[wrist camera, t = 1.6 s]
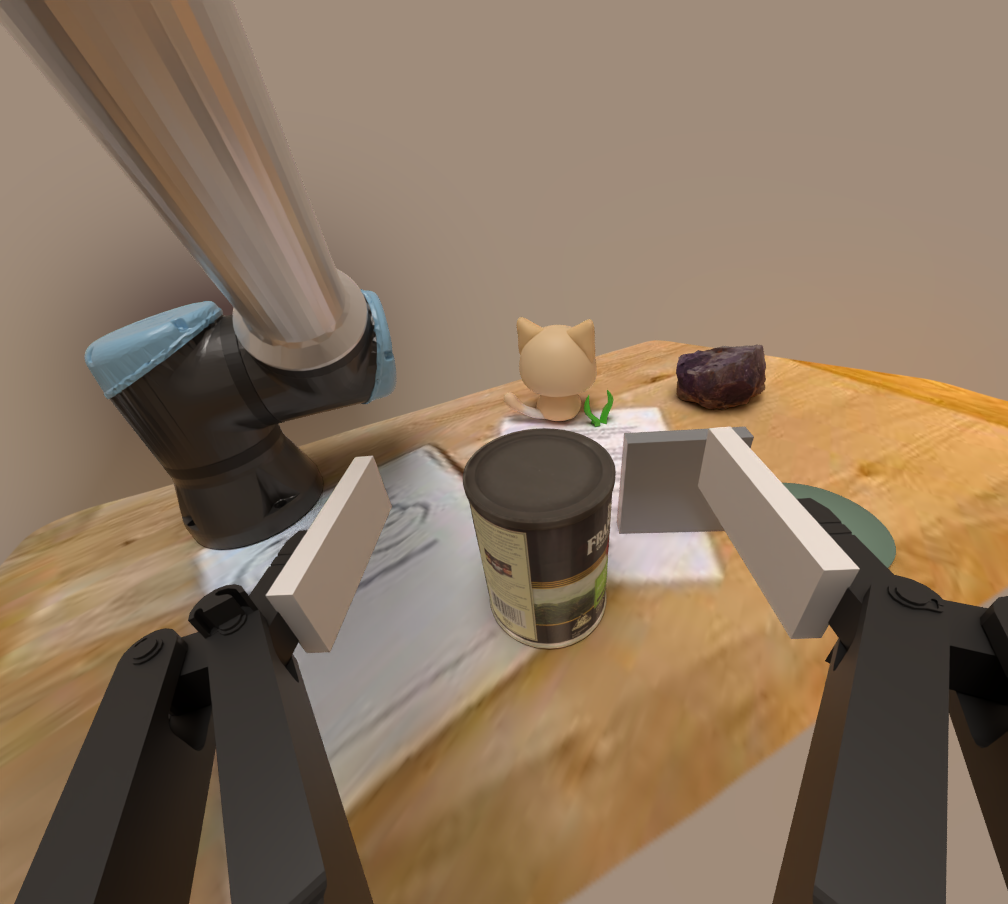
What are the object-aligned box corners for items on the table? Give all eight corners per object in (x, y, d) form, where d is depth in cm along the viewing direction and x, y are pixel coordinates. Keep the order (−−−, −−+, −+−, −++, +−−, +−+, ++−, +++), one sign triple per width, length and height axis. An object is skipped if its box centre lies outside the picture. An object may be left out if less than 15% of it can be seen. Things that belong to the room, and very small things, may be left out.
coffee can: (610, 556, 37) (620, 431, 29) (600, 664, 29) (609, 533, 21) (507, 540, 40) (490, 422, 32) (472, 633, 32) (437, 509, 24)
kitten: (618, 405, 60) (625, 305, 51) (603, 440, 53) (608, 330, 44) (529, 395, 66) (521, 304, 57) (504, 425, 59) (491, 326, 50)
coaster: (711, 500, 41) (712, 496, 41) (812, 477, 43) (814, 473, 42) (804, 596, 32) (806, 591, 31) (931, 562, 33) (935, 558, 32)
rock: (676, 393, 63) (677, 423, 56) (675, 342, 59) (676, 367, 51) (761, 386, 59) (775, 418, 51) (766, 330, 54) (782, 356, 47)
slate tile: (724, 531, 38) (753, 437, 32) (619, 533, 39) (627, 443, 33) (717, 517, 39) (744, 425, 33) (616, 520, 40) (623, 432, 34)
